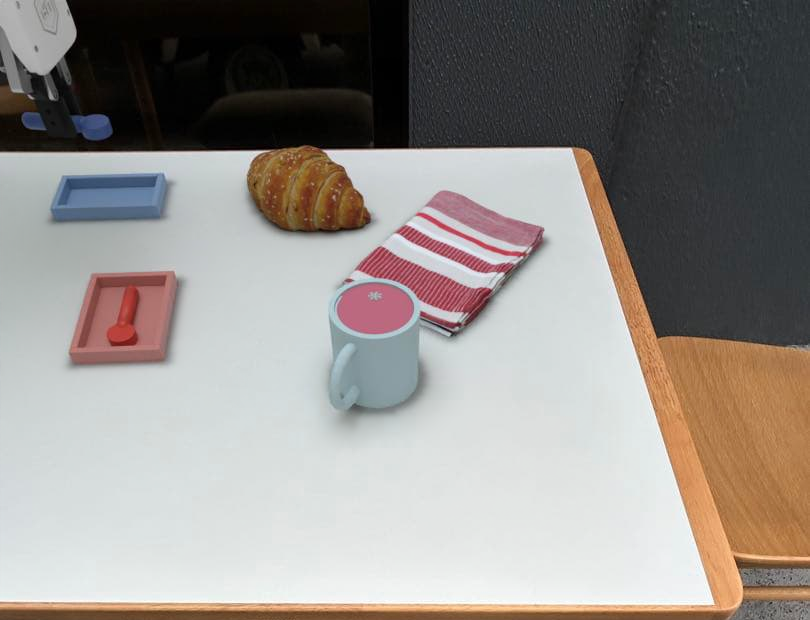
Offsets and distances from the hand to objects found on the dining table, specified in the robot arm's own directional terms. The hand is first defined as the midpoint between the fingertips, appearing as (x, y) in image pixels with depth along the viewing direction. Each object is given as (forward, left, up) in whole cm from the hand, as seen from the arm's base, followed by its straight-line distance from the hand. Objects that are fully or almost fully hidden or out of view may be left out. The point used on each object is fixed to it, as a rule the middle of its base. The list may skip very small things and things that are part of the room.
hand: (67, 129), depth 74 cm
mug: (+32, -28, -15) cm, 45 cm away
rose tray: (+4, -15, -15) cm, 21 cm away
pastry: (+24, +8, -15) cm, 30 cm away
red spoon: (+4, -15, -15) cm, 21 cm away
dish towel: (+43, -6, -15) cm, 46 cm away
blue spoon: (+1, 0, 0) cm, 1 cm away
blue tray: (-2, +10, -15) cm, 19 cm away
